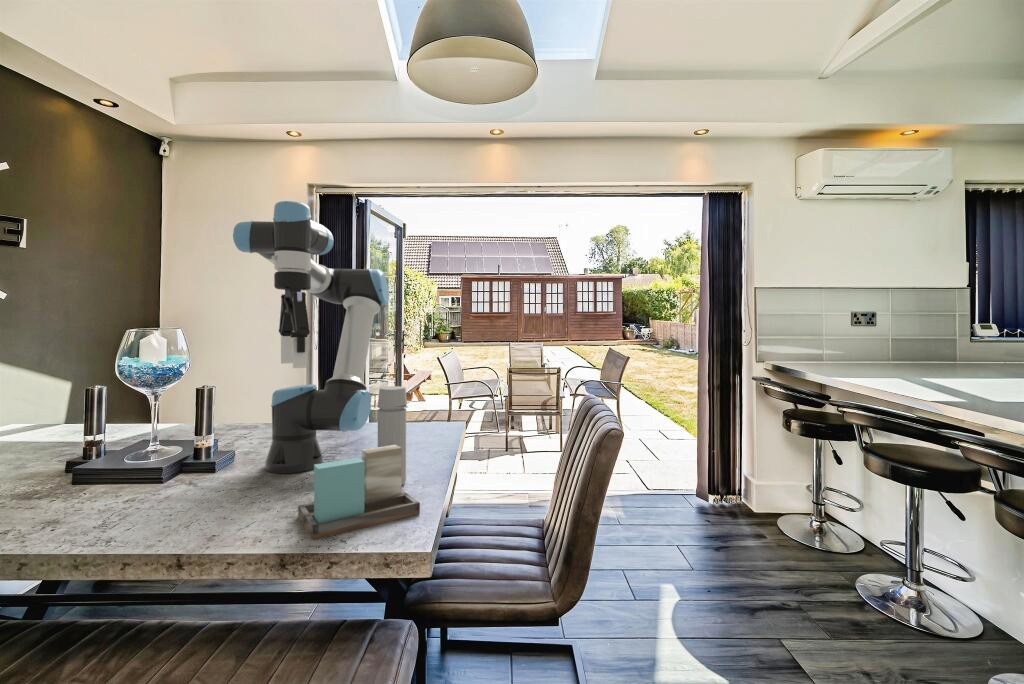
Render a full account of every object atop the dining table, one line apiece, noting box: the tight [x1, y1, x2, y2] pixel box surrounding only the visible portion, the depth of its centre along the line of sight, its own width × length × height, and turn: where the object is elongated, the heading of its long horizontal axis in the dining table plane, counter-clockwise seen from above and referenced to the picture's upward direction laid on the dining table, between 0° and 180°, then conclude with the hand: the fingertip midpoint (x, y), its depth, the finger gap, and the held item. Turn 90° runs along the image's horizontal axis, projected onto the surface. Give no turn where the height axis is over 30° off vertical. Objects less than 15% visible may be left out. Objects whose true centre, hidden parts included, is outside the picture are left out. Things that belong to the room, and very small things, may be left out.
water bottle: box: [376, 385, 409, 486], centre depth 122 cm, size 9×8×25 cm
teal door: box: [313, 457, 364, 524], centre depth 96 cm, size 4×9×12 cm, turn 125°
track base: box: [297, 445, 421, 541], centre depth 101 cm, size 13×22×13 cm, turn 126°
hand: (293, 365), depth 107 cm, fingers open, 13 cm apart
